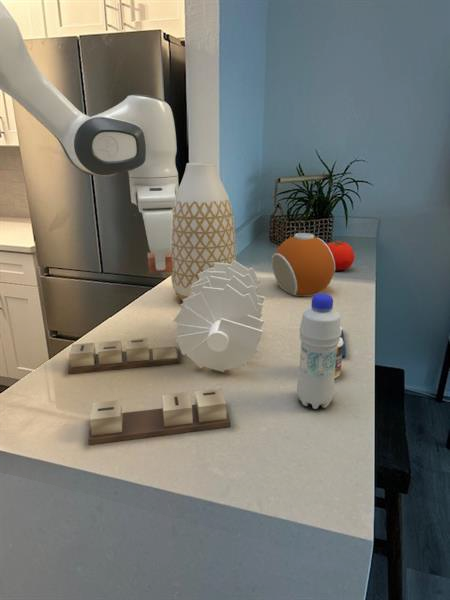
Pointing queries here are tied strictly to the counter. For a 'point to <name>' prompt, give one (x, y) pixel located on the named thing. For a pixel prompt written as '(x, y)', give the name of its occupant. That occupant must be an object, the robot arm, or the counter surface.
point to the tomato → (341, 254)
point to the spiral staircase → (221, 318)
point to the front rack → (158, 417)
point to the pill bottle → (338, 357)
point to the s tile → (153, 267)
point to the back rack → (118, 356)
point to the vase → (200, 227)
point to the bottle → (318, 352)
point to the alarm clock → (303, 265)
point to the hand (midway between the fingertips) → (159, 265)
